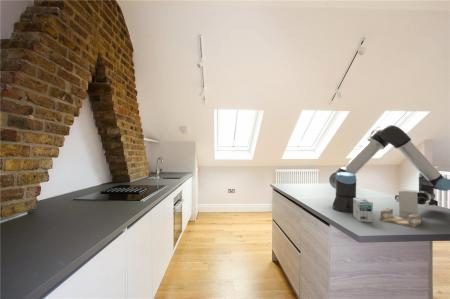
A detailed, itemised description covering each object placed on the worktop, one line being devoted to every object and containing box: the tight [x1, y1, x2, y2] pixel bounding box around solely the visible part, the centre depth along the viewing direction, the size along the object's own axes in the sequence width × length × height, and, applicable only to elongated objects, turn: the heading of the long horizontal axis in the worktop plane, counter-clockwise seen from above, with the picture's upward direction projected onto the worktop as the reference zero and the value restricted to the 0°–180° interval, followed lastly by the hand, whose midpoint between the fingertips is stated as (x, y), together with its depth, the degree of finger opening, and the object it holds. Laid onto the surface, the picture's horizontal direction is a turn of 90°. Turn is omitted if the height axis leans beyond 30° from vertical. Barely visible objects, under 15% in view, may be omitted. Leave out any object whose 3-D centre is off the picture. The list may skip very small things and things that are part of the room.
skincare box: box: [398, 189, 419, 219], centre depth 133 cm, size 8×7×16 cm
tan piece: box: [379, 207, 422, 228], centre depth 125 cm, size 15×12×5 cm
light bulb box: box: [352, 197, 374, 223], centre depth 128 cm, size 11×7×11 cm, turn 168°
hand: (411, 201), depth 133 cm, fingers open, 13 cm apart
